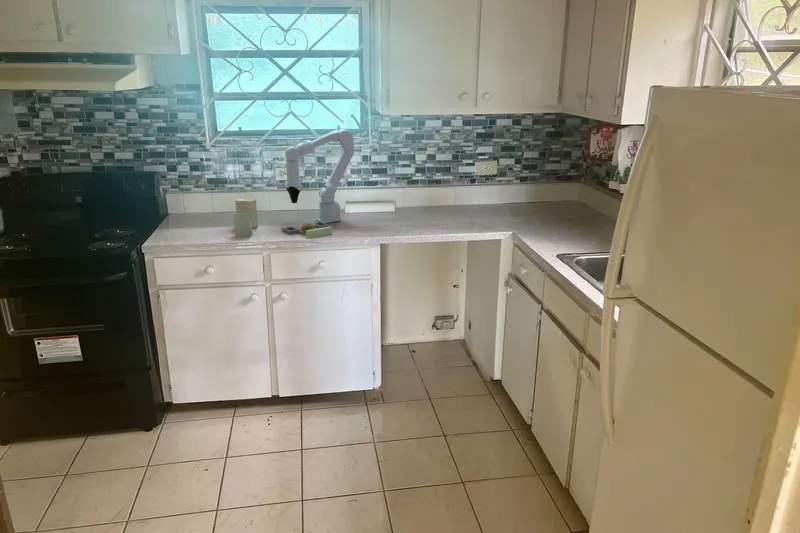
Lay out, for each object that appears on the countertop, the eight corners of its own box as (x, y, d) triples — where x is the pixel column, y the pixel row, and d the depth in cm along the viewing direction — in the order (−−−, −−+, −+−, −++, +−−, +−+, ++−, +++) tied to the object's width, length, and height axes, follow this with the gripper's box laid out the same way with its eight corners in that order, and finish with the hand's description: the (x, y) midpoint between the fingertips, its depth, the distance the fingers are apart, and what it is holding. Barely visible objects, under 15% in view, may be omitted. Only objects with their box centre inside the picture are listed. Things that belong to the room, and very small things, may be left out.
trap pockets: (321, 224, 281) (321, 218, 280) (339, 232, 269) (339, 225, 268) (282, 231, 270) (281, 224, 269) (299, 239, 257) (299, 233, 256)
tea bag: (251, 237, 260) (249, 214, 257) (235, 237, 260) (233, 214, 257) (252, 234, 264) (251, 212, 261) (237, 234, 264) (235, 212, 260)
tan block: (315, 231, 270) (314, 223, 269) (315, 234, 266) (315, 225, 264) (301, 232, 269) (301, 223, 268) (301, 235, 265) (301, 226, 263)
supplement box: (258, 227, 276) (256, 199, 272) (253, 229, 272) (251, 201, 268) (242, 225, 278) (240, 197, 274) (237, 228, 274) (234, 199, 270)
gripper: (277, 172, 280) (279, 201, 285) (292, 177, 269) (293, 206, 274) (291, 170, 284) (293, 199, 289) (306, 175, 273) (307, 204, 278)
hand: (294, 202), depth 281 cm, fingers closed
